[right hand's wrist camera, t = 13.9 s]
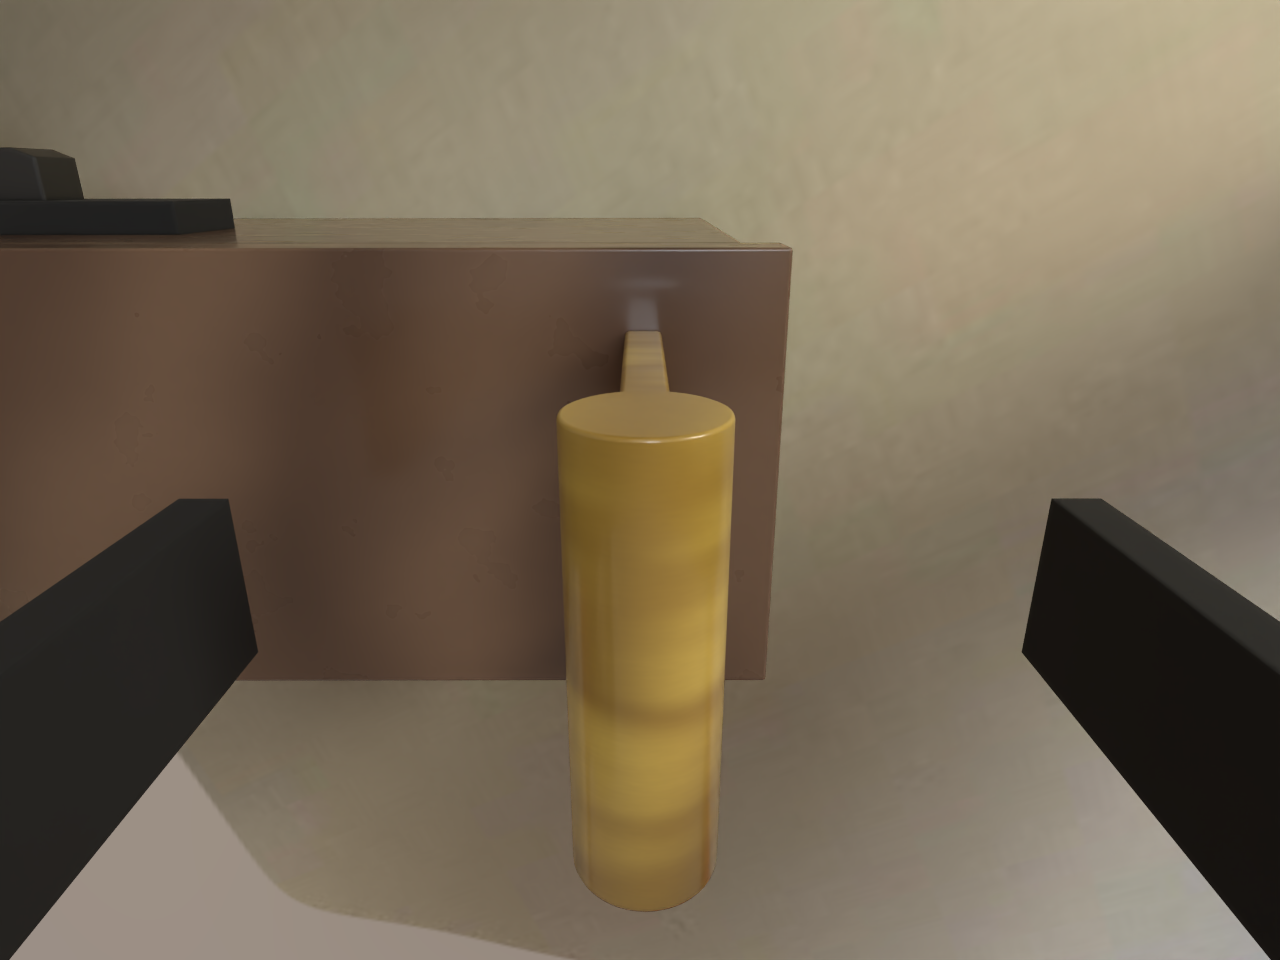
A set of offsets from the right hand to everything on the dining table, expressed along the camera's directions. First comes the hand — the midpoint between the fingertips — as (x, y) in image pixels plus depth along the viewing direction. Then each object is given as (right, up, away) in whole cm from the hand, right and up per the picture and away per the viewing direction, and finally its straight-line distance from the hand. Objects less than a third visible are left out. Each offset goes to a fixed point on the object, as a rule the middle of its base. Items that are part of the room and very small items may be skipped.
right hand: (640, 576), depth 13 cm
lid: (-6, +2, +5) cm, 8 cm away
